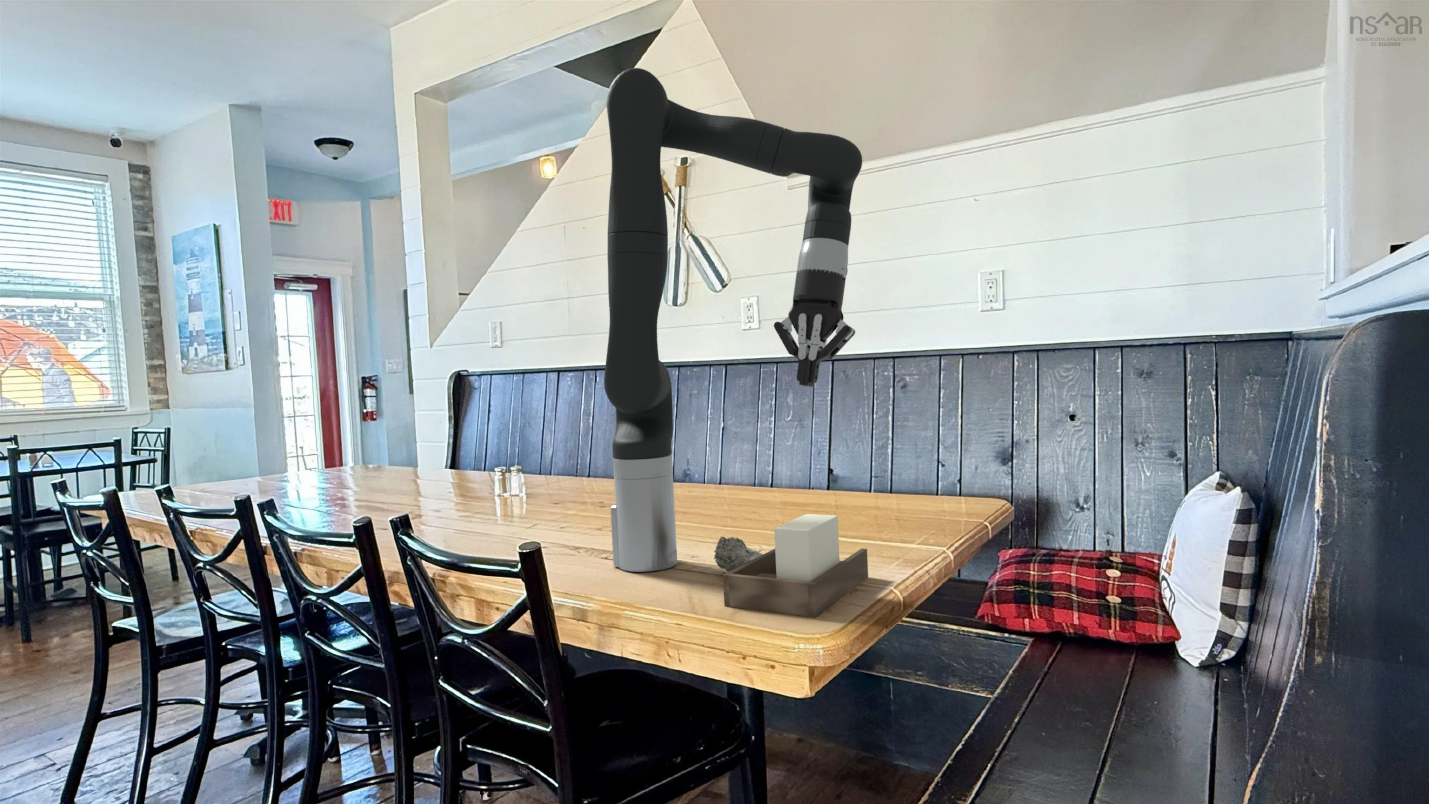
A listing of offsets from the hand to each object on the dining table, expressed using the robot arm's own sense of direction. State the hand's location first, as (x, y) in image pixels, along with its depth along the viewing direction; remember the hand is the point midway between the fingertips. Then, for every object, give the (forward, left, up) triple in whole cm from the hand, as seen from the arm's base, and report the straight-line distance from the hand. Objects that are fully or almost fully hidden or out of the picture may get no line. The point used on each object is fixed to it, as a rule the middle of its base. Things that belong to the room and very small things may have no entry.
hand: (806, 385), depth 116 cm
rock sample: (-7, -7, -27) cm, 29 cm away
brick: (+7, -17, -25) cm, 31 cm away
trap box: (+4, -14, -27) cm, 31 cm away
